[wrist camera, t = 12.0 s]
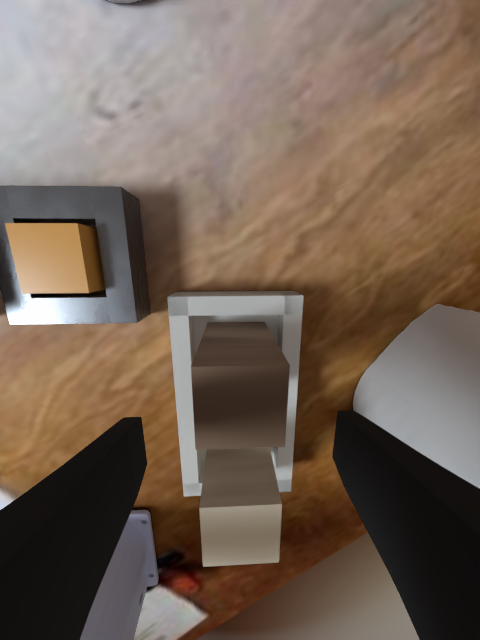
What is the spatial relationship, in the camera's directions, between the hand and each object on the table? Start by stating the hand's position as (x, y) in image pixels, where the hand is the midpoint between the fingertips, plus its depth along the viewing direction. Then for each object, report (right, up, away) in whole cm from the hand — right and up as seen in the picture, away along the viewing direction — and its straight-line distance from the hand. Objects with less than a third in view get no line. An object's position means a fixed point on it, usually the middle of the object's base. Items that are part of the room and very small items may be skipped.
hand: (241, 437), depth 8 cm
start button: (-10, +8, +7) cm, 15 cm away
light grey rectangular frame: (0, -1, +10) cm, 10 cm away
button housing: (-10, +8, +7) cm, 15 cm away
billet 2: (0, -5, +10) cm, 11 cm away
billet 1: (0, +2, +8) cm, 8 cm away
